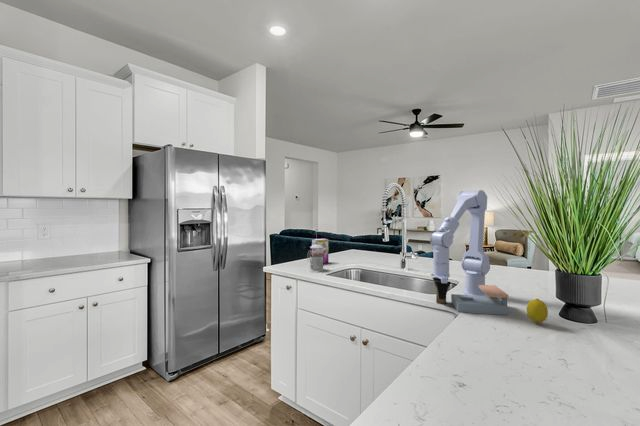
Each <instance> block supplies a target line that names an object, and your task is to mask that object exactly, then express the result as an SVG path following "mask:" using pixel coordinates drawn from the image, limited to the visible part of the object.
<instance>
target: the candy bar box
mask: <svg viewBox="0 0 640 426" xmlns="http://www.w3.org/2000/svg"><path fill="white" fill-rule="evenodd" d="M313 245H316V238H314V239H311V246H313ZM317 245H321V246H323V248H320V249H317V253H322V255H320V256H323V263H324V264H327V263H326V262H328V263H329V250H330V249H329V248H330V247H329V239H328V238H317ZM312 250H313V251H312ZM311 252H313V253H316V249H312V248H311ZM311 256H314V255H311ZM318 260H319V259H318ZM318 262H319V261H318Z"/></svg>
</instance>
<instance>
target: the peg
mask: <svg viewBox="0 0 640 426" xmlns="http://www.w3.org/2000/svg"><path fill="white" fill-rule="evenodd" d="M435 290H436V291H435V292H436V293H435V294H436V296H435V298H436V304H439V305H446V304H447V297H446V298H445V299H439V296H438V290H437V286H435Z"/></svg>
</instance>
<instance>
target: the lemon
mask: <svg viewBox="0 0 640 426" xmlns="http://www.w3.org/2000/svg"><path fill="white" fill-rule="evenodd" d="M526 315H527V316H528V318H529V319H530V320H531V321H532V322H534V323H535V324H537V325H538V324H540V323H542V322H545V321H546V320H547V318H548V317H549V316H548V315H549V311H548V307H547V305H546V303H545V302H544V301H543V300H540V299H539V298H537V297H536V298H535V299H531V300H530V301H528V303H527V306H526Z"/></svg>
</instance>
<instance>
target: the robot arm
mask: <svg viewBox="0 0 640 426" xmlns="http://www.w3.org/2000/svg"><path fill="white" fill-rule="evenodd" d="M487 208H488V195H487V193H486V192H485V190H482V189H479V190H468V191H465V190H461V191H459V192H458V195H457V196H456V204H455V206H454V208H453V210H452V211H451V214H450V216H447V217H445V218H444V219H443V222H442V223H441V225H440V226H439V227H438V229H437V230H436V231H435V232H433V233H431V235H430V239H429V242H430V244H431V249H432V253H433V254H432V255H433V262H432V263H433V265H432V266H433V269H432V271H433V272H430V276H431V277H432V280H433V282H434V286H435V287H436V286H437V290H438V296H439V299H445V298H446V299H447V293H448V290H449V288H450V286H451V281H449V278H450V277H451V275H450V247H451V246H452V244H453V242H454V235H455V233H456V231H457V229H458V228H459V226H460V221H459V220H460V219H461V218H462V217H463V215H464V214H465V213H466V211H467V212H469V213H470V223H469V224H470V226H469V227H470V228H469V243H468V246H469V247H468V250H467V251H465V252H464V253H463V257H462V260H461V268H462V270H463V271H464V273H465V276H464V288H463V289H462V291H463V292H464V293H465V295H478V296H488V295H486V294H485V293H484V292H483V291H482V290H481V289H480V288H479V285H486V275H488V273H490V272H489V271H490V270H491V263H490V256H489V255H488V254H487V253H486V252H485V251H484V234H485V233H484V232H485V231H484V230H485V220H486V219H485V216H486V215H485V214H486V211H487Z"/></svg>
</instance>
